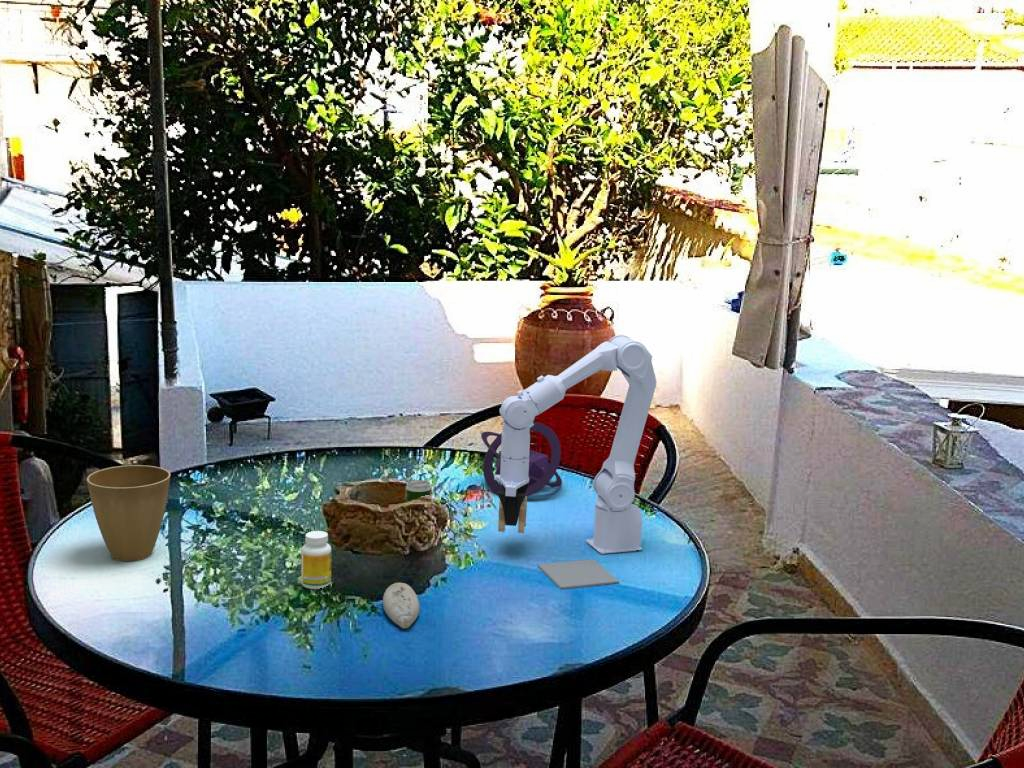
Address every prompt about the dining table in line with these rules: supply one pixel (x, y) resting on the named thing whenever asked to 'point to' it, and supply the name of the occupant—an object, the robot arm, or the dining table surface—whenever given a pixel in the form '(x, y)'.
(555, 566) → the slate mat
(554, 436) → the decorative bottle
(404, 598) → the decorative stone
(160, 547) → the dining table surface
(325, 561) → the supplement bottle
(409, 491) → the beer can
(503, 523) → the wooden u-frame
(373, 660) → the dining table surface
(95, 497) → the plant pot
